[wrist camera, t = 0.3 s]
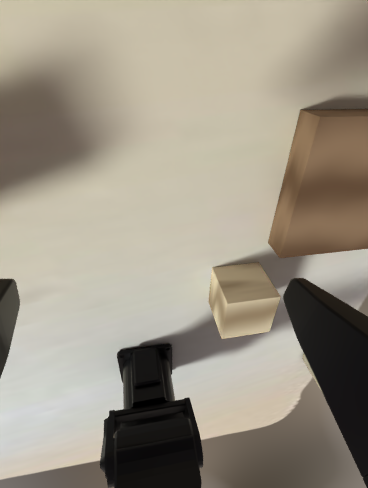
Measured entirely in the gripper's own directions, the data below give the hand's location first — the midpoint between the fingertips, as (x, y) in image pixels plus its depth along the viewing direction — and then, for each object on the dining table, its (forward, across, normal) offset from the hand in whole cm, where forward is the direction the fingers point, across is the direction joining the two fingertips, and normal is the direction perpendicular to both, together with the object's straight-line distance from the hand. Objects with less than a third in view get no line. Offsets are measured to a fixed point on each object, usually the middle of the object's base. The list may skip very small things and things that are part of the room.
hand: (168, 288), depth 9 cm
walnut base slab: (+14, -18, 0) cm, 23 cm away
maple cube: (+14, -11, +12) cm, 22 cm away
